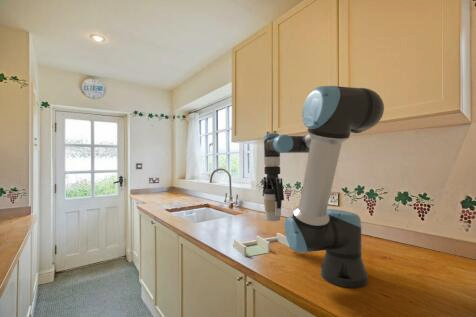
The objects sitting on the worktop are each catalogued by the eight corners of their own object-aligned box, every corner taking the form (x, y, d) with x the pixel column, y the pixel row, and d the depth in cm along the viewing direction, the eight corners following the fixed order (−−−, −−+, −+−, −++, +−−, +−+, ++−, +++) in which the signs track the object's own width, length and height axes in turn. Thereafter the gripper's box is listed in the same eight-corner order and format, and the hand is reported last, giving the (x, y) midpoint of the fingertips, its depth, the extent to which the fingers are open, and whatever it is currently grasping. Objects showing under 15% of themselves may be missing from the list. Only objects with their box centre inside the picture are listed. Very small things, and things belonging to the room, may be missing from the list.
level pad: (268, 252, 107) (268, 252, 107) (247, 256, 103) (247, 256, 103) (258, 245, 117) (258, 245, 117) (238, 249, 112) (238, 248, 112)
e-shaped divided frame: (291, 247, 114) (291, 239, 114) (244, 256, 104) (244, 247, 104) (276, 239, 126) (276, 231, 126) (232, 246, 116) (232, 238, 116)
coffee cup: (260, 220, 112) (260, 188, 112) (267, 216, 120) (267, 186, 120) (278, 222, 108) (278, 189, 108) (285, 218, 116) (284, 187, 116)
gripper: (291, 166, 106) (292, 217, 105) (268, 165, 125) (268, 208, 125) (277, 166, 103) (278, 219, 103) (255, 165, 123) (255, 209, 122)
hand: (272, 213), depth 114 cm, fingers closed on coffee cup, 8 cm apart
